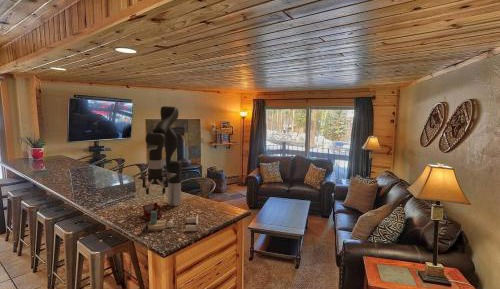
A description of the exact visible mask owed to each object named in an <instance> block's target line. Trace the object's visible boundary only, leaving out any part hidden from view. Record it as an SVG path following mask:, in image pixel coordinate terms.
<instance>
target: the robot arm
mask: <svg viewBox="0 0 500 289" xmlns="http://www.w3.org/2000/svg"><path fill="white" fill-rule="evenodd" d="M159 114H160V120H161V121H158V123H157V124H156V126H155V128H153V129H152V130H150V131H149V132H148V133H147V134H146V136H145V142H146V144H147V145H149V146H157V147H156V148H152V149H150V150H149V152H148V153H149V154H148V158H149V160H148V177H147V176H143V178H142V185H141V186H142V188H144V189H145V194H146V195H147V196H149V195H150V186H151V185H153V186H154V185H158V186H159V185H160V187H161V190H162V191H161V192H162V195H165V193H166V188H167V195H168V196H167V205H168V206H169V207H177V206H181V204H182V201H181V200H182V167H183V166H182V161H181V160H172V156H173V154H174V153H175V152H176V150H177V148H178V145H179V143H178V142H179V141H178V135H177V134H176V132H175V131H174V130H173V129H172V127H171V126H172V125H173V124H174V123H175V122H176V121H177V120H178V118H179V108H178V107H176V106H170V105H169V106H167V105H166V106H164V105H163V106H161V107H160V113H159ZM163 149H164V150H165V152H164V153H165V170H166V173H167V174H175V175H174V176H171V177H169V176H163ZM163 180H164V181H165V184H164V182H163ZM146 181H148V182H149V183H148V184H147V185H146V183H147V182H146Z"/></svg>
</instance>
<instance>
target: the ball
mask: <svg viewBox="0 0 500 289" xmlns="http://www.w3.org/2000/svg"><path fill="white" fill-rule="evenodd" d="M166 224H167V225H166V227H168V228H172V227H174V226H175V225H174V224H175V223H174V221H173V220H169V221H166Z"/></svg>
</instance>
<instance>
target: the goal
mask: <svg viewBox="0 0 500 289" xmlns="http://www.w3.org/2000/svg"><path fill="white" fill-rule="evenodd" d="M193 223H194V224H195V223H196V224H195V225H194V224H193ZM186 224H191V225H185V232H194V231H195V232H197V231H199V214H197V215H196V217H186ZM192 224H193V225H192Z"/></svg>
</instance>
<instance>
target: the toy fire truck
mask: <svg viewBox="0 0 500 289" xmlns="http://www.w3.org/2000/svg"><path fill="white" fill-rule="evenodd" d="M142 210H143V216H142V217H143V219H145V220H147V221H149V222H150V221H151V211H157V220H160V219H162V216H163V215H162V210H163V209H162V208H161V206H160V204H159V203H158V202H157V201H156V202H154V203H148V204H144V205H143V206H142Z"/></svg>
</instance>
